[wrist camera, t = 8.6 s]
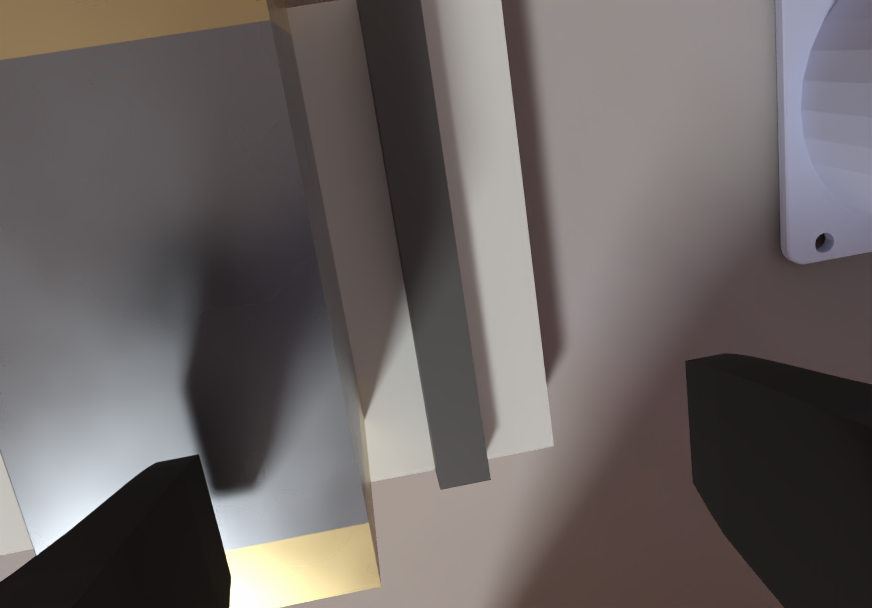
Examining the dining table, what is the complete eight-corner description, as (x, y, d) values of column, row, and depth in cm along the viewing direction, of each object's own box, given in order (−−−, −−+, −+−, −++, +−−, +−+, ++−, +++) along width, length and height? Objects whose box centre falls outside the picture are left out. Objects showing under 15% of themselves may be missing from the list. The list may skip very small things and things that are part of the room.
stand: (481, -16, 19) (508, -30, 16) (534, 412, 22) (564, 464, 19) (-145, 79, 18) (-235, 82, 15) (8, 514, 21) (-41, 585, 18)
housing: (364, 419, 19) (380, 586, 13) (153, 459, 19) (68, 650, 13) (279, -28, 16) (250, -79, 10) (26, 9, 16) (-162, -23, 10)
